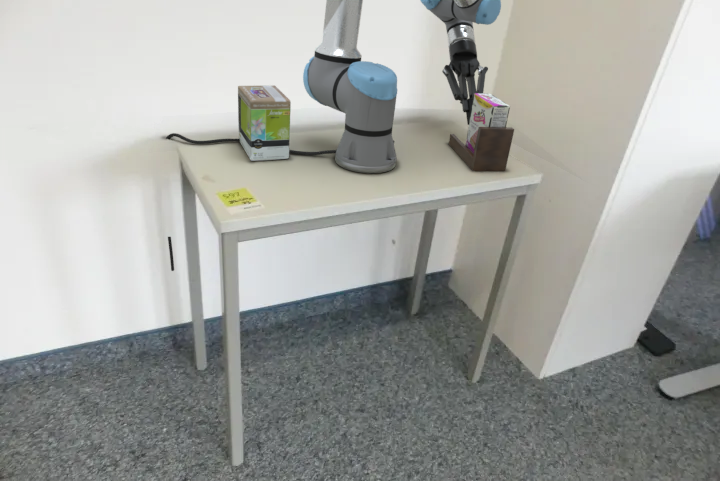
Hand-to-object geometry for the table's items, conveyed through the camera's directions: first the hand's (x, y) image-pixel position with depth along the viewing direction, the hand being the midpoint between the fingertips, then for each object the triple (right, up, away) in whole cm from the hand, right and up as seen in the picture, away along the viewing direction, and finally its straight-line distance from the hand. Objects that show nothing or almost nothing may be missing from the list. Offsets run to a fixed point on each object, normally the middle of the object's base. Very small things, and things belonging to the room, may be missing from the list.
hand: (472, 122), depth 152 cm
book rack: (0, -9, -1) cm, 9 cm away
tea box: (-55, -9, -9) cm, 56 cm away
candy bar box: (+1, -11, -4) cm, 12 cm away
